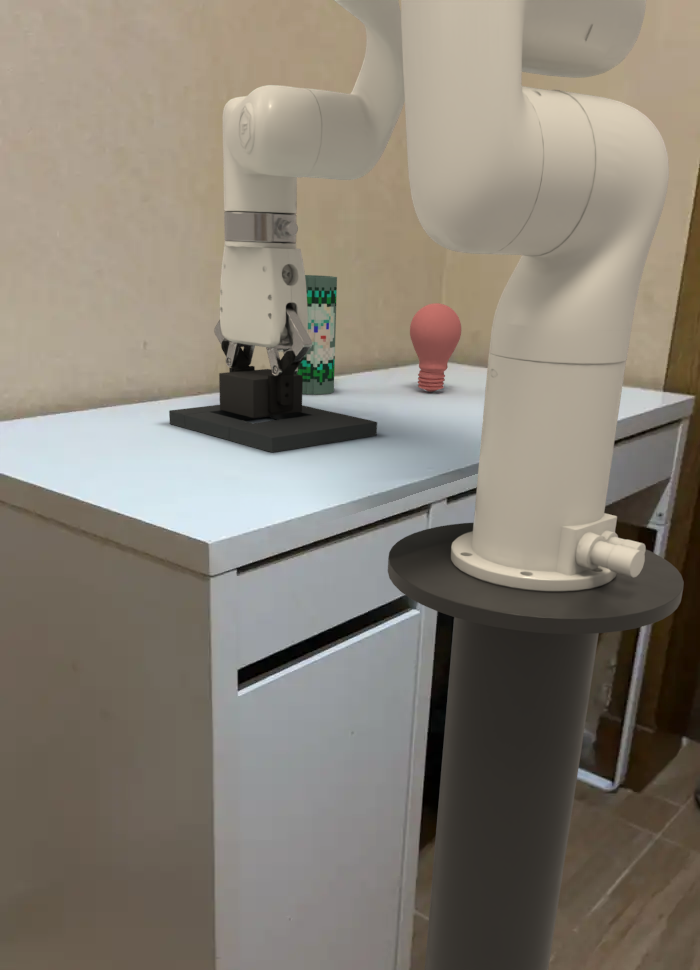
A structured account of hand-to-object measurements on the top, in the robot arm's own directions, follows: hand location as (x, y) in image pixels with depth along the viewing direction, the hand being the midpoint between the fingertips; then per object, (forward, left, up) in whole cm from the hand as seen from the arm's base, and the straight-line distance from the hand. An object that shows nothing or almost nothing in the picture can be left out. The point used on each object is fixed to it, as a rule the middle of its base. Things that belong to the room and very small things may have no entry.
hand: (261, 405), depth 104 cm
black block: (0, 0, -1) cm, 1 cm away
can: (+16, -22, -3) cm, 27 cm away
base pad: (-2, 0, -2) cm, 3 cm away
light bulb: (+6, -36, -3) cm, 37 cm away
